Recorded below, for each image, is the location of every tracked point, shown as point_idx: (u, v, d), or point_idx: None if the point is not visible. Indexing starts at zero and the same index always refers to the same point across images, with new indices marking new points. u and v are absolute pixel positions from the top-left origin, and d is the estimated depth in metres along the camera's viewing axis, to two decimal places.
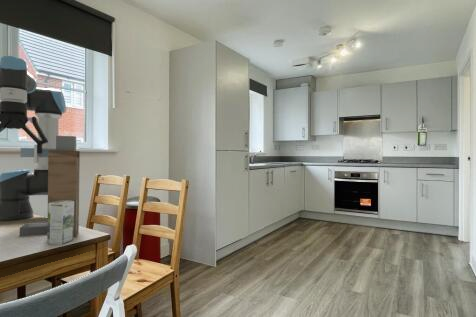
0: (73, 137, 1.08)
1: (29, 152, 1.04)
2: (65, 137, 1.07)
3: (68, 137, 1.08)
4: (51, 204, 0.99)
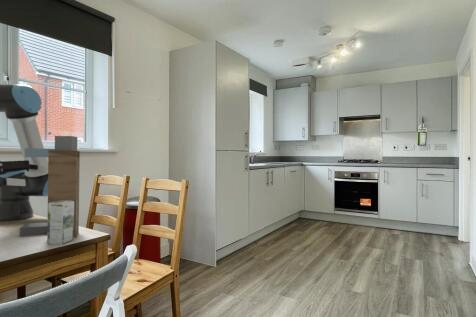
0: (70, 137, 1.07)
1: (32, 152, 1.07)
2: (63, 137, 1.07)
3: (66, 137, 1.07)
4: (51, 204, 0.99)
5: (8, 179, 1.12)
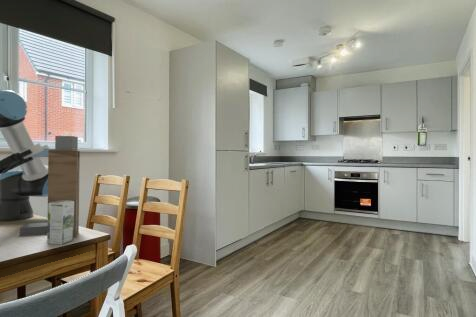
0: (71, 137, 1.07)
1: None
2: (64, 137, 1.07)
3: (66, 137, 1.07)
4: (51, 204, 0.99)
5: None
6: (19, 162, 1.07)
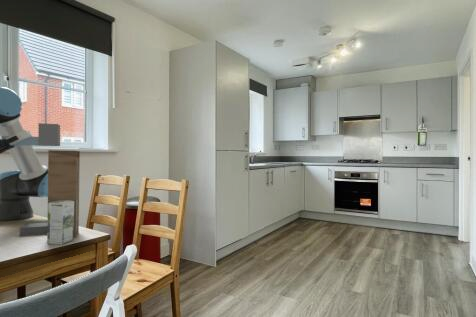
0: (56, 125, 1.06)
1: None
2: (48, 125, 1.05)
3: (51, 125, 1.05)
4: (51, 204, 0.99)
5: None
6: None
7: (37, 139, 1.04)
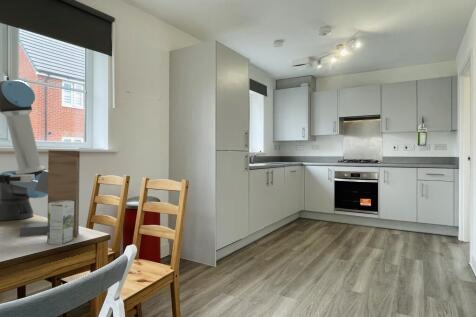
0: None
1: None
2: None
3: None
4: (51, 204, 0.99)
5: None
6: None
7: (35, 184, 1.11)
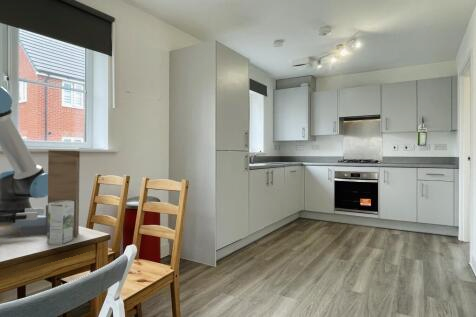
0: None
1: (20, 222, 1.10)
2: None
3: None
4: (51, 204, 0.99)
5: (26, 210, 1.16)
6: None
7: (44, 219, 1.13)
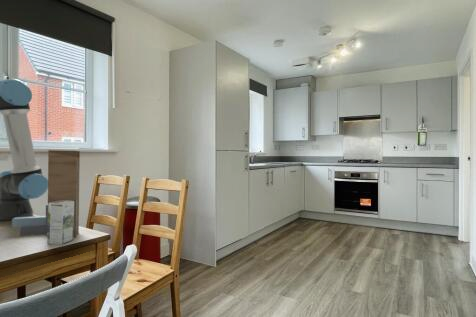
0: None
1: (20, 222, 1.10)
2: None
3: None
4: (51, 204, 0.99)
5: None
6: None
7: (44, 219, 1.13)
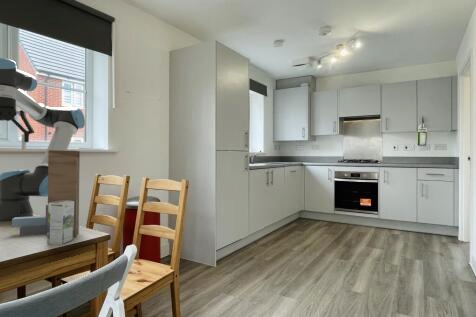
0: None
1: (20, 222, 1.10)
2: None
3: None
4: (51, 204, 0.99)
5: None
6: None
7: (44, 219, 1.13)
